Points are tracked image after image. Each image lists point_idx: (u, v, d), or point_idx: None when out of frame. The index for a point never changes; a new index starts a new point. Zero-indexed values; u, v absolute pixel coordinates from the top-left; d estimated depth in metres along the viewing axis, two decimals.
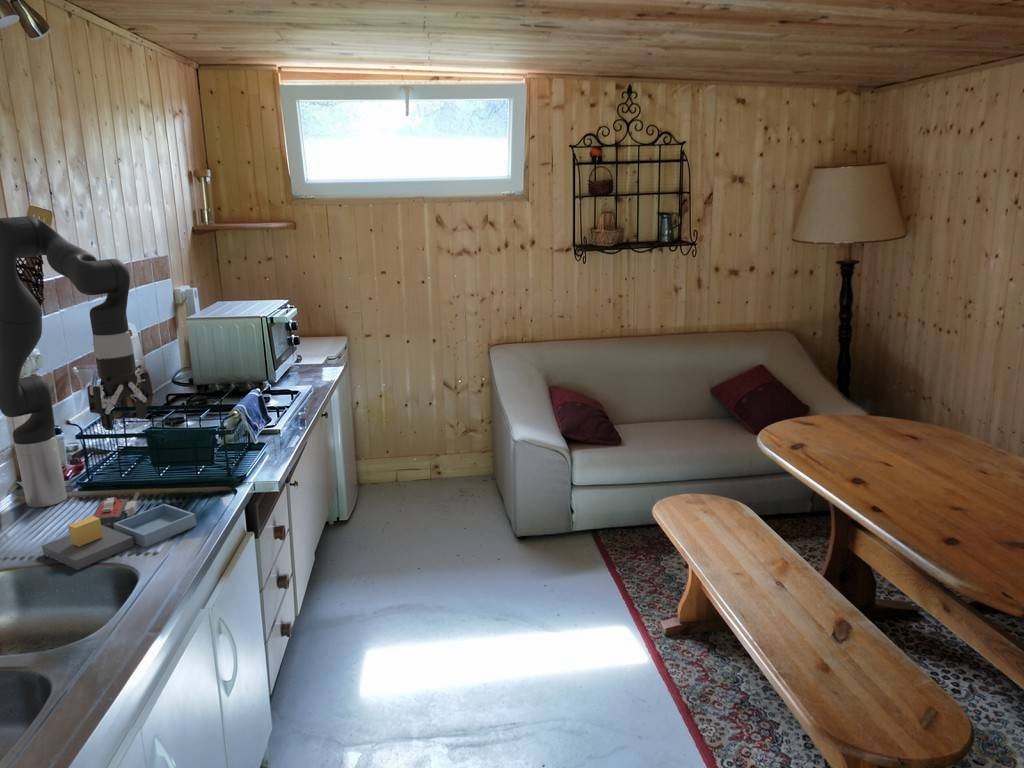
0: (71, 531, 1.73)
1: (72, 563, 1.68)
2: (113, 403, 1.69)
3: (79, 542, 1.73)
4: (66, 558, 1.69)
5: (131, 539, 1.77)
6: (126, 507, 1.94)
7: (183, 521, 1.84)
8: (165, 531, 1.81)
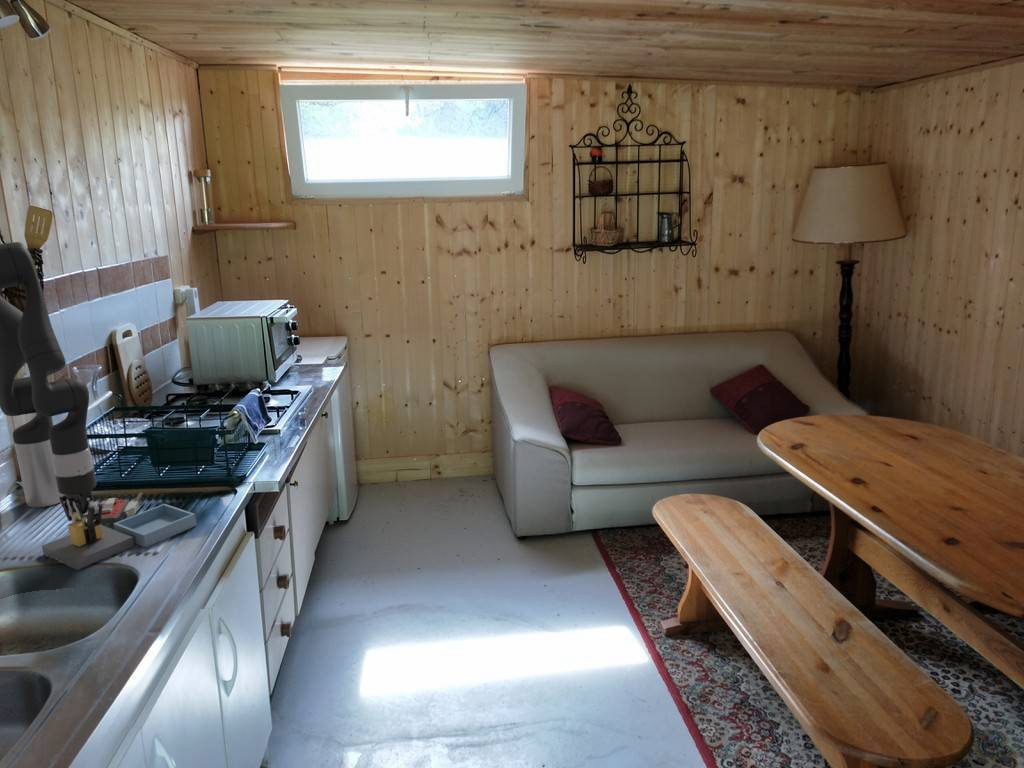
0: (71, 531, 1.73)
1: (72, 563, 1.68)
2: None
3: (79, 542, 1.73)
4: (66, 558, 1.69)
5: (131, 539, 1.77)
6: (126, 508, 1.94)
7: (183, 521, 1.84)
8: (165, 531, 1.81)
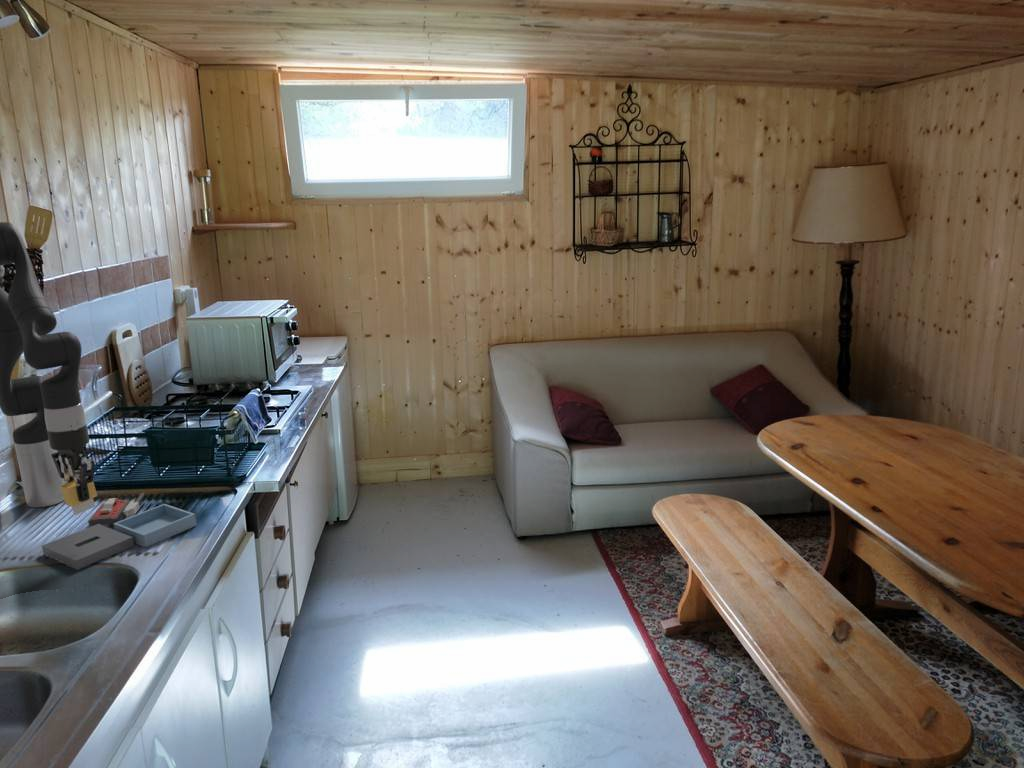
0: (64, 492, 1.71)
1: (72, 563, 1.68)
2: None
3: (73, 503, 1.71)
4: (66, 558, 1.69)
5: (131, 539, 1.77)
6: (126, 508, 1.94)
7: (183, 521, 1.84)
8: (165, 531, 1.81)
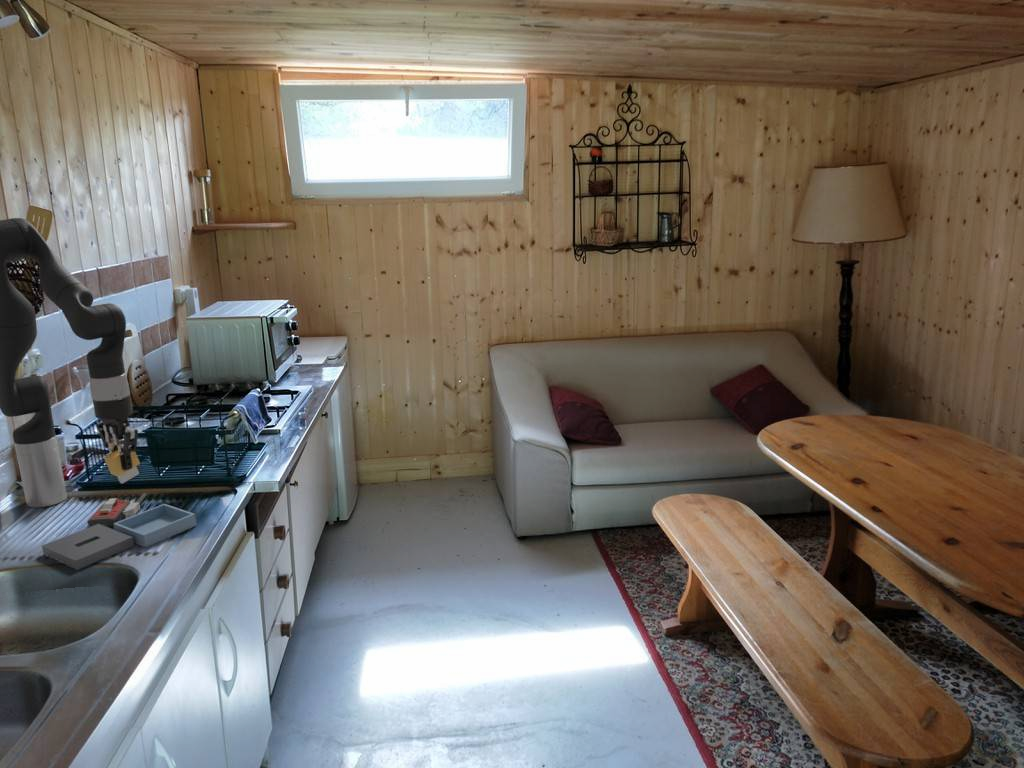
0: (108, 462, 1.75)
1: (72, 563, 1.68)
2: None
3: (118, 472, 1.75)
4: (66, 558, 1.69)
5: (131, 539, 1.77)
6: (126, 509, 1.94)
7: (183, 521, 1.84)
8: (165, 531, 1.81)
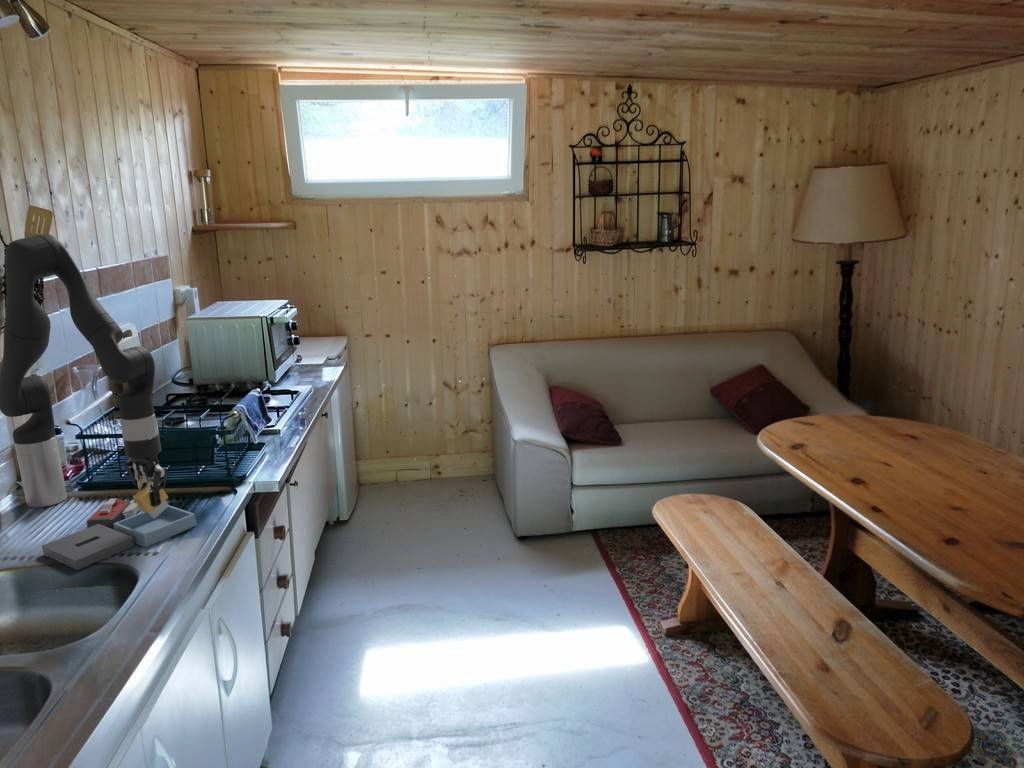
0: (138, 501, 1.81)
1: (72, 563, 1.68)
2: None
3: (149, 509, 1.82)
4: (66, 558, 1.69)
5: (131, 539, 1.77)
6: (126, 509, 1.93)
7: (183, 521, 1.84)
8: (165, 531, 1.81)
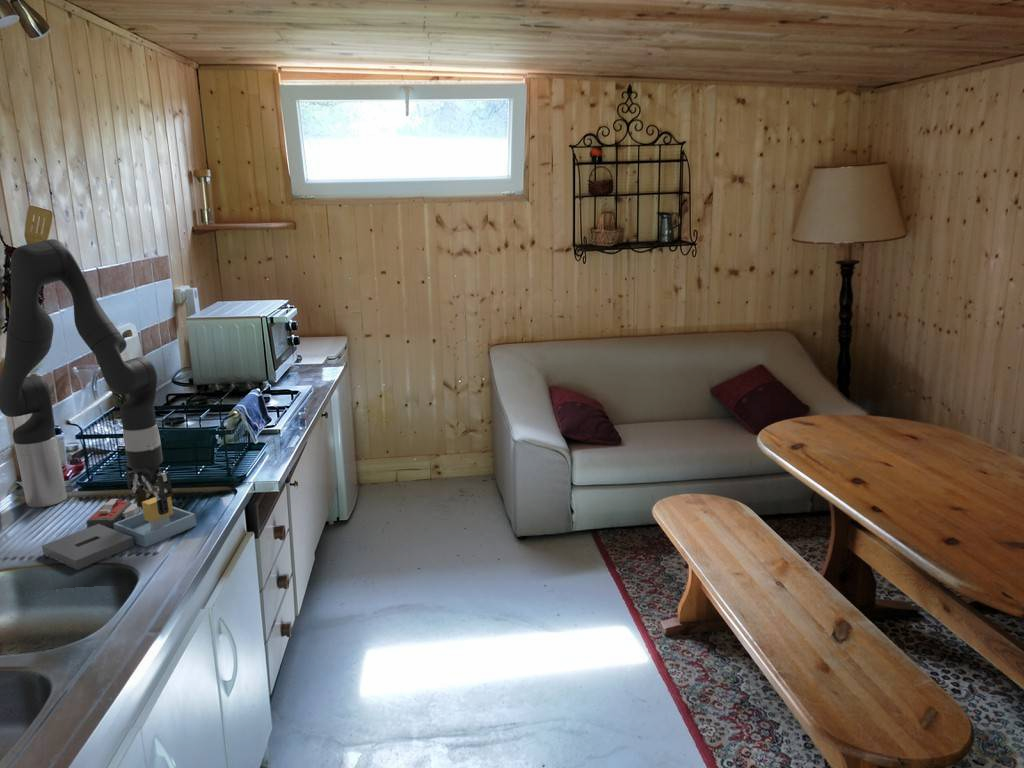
0: (145, 508, 1.83)
1: (72, 563, 1.68)
2: None
3: (152, 518, 1.83)
4: (66, 558, 1.69)
5: (131, 539, 1.77)
6: (126, 510, 1.93)
7: (183, 521, 1.84)
8: (165, 531, 1.81)
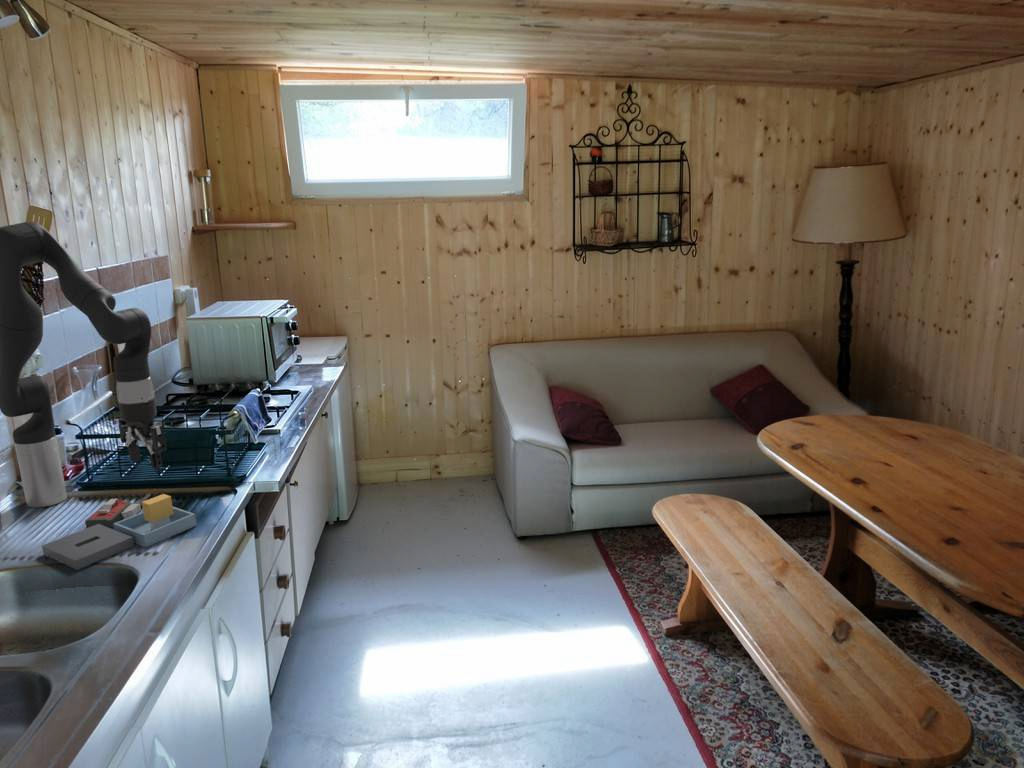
0: (145, 508, 1.83)
1: (72, 563, 1.68)
2: None
3: (152, 518, 1.83)
4: (66, 558, 1.69)
5: (131, 539, 1.77)
6: (125, 510, 1.93)
7: (183, 521, 1.84)
8: (165, 531, 1.81)
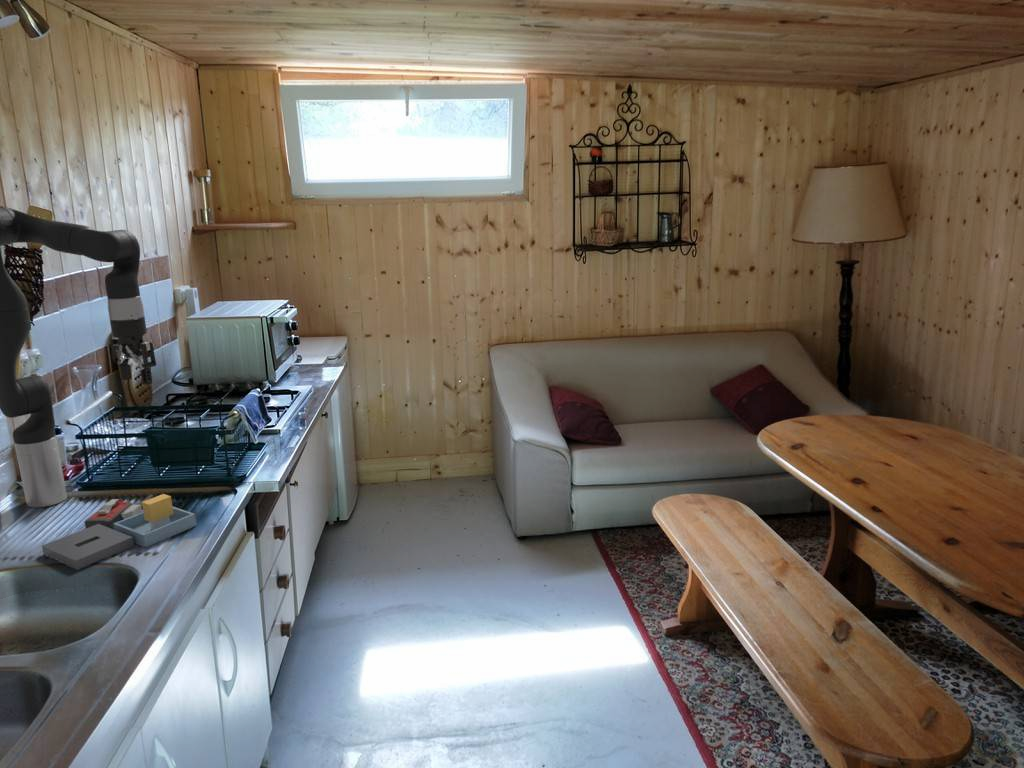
0: (145, 508, 1.83)
1: (72, 563, 1.68)
2: None
3: (152, 518, 1.83)
4: (66, 558, 1.69)
5: (131, 539, 1.77)
6: (125, 511, 1.93)
7: (183, 521, 1.84)
8: (165, 531, 1.81)
